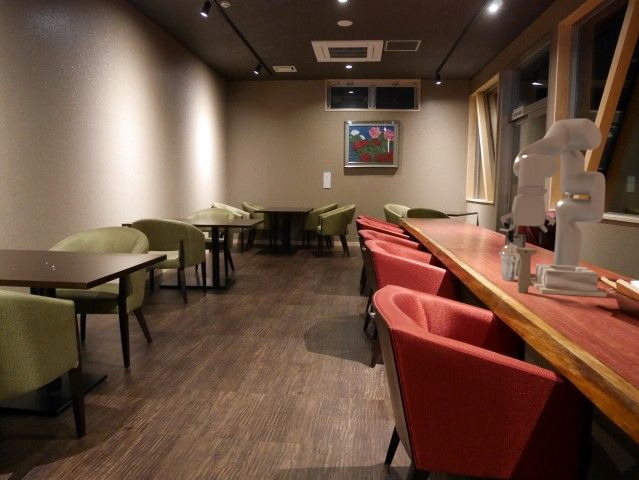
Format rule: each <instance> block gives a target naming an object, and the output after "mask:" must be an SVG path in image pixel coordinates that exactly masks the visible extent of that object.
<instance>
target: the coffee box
mask: <svg viewBox="0 0 639 480" xmlns="http://www.w3.org/2000/svg"><path fill="white" fill-rule="evenodd" d="M526 243H527V235H526V234H520V233H519V234H518V233H514V235H513V242H512V244H513V245H516V246H517V247H518V248H526ZM507 244H510V242H509V240H508V234H507V235H506V234H505V243H504V246H505V245H507ZM519 264H520V259H519V262H518V266H517V271H516V276H518V271H519Z"/></svg>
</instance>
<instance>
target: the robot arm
mask: <svg viewBox="0 0 639 480" xmlns="http://www.w3.org/2000/svg"><path fill="white" fill-rule="evenodd" d="M602 137H603V136H602V133H601V129H600V128H599V127H598V126H597V124H596V123H594V121H592V120H590V119H589V118H586V117H585V118H569V119H560V120H557V121H555V122H554V123H552V125H551V126H550V127H549V129H548V130H547V132H546V134H545V135H544V136H543V138H541V139H539V140H537V141H535V142H533V143H531V144H528V145H527V146H525V147H524V148H522V149H521V150H520V151H519V153H518V154H517V156H516V157H515V159H514V161H513V165H512V171H513V174H514V175H515V176H516V177H518V186H517V195H515V196H514V199H513V201H512V206H511V212H510V213H507V214H504V215H502V216H500V221H501V223H502V226H504V228H505V229H506V230H508V232H507V235H508V240H509V242H510V243H512V242H513V235H514V234H515V233H514V229H515V228H516V227H517V226H520V227H521V226H522V227H523V226H524V227H538V228H539V229H540V232H539V238H538V243H539V244H540V245H544V244H545V242H546V239H547V236H546V235H547V232H548V231H550V230H551V229H552V228H553V226H554V225H555V224H556V225H555V242H554V253H553V265H568V266H580V262H581V261H580V260H581V258H580V257H581V250H582V249H581V246H582V234H583V233H582V231H581V229H580V227H579V226H578V224H577V223H588V224H596V223H600V222H601V221H602V220H603V219H604V218H603V217H604V214H605V199H606V178H605V175H604V173H602V172H599V171H595V170H594V171H588V170H585V163H586V161H585V160H586V157H585V156H584V154H583V153H582V152H581V151H592V150H596V149H597V148H599V147H600V145H601V143H602ZM558 157H559V158H560V159H559V160H560V163H559V161H558V159H556V158H558ZM559 166H560V167H559ZM559 168H560V169H559ZM559 170H560V184H559V187H560V191H561V192H562V194H564V195H567V196H568V195H569V196H588V197H589V198H582V197H581V198H578V197H577V198H576V197H575V198H574V197H572V198H571V197H566V198H561V199H559V200H558V201H557V202H556V203H555V206H554V209H555V211H554V213H555V218H554V217H552V216H550V215H548V214H546V203H545V197H544V196H543V195H544V194H547V193H548V189H547V188H544V187H543V185H544V184H543V183H544V179H549V178H550V179H551V178H553V177H554V176H556V175H557V173H558V171H559ZM507 219H510V224H509V223H508V222H507ZM546 220H548V221H549V223H548V224H547V225H545V223H546Z"/></svg>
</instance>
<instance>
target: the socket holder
mask: <svg viewBox="0 0 639 480" xmlns="http://www.w3.org/2000/svg"><path fill="white" fill-rule="evenodd" d="M535 266H536V267H535V277H534V278H533V277H532V278H530V285H532V286H533V287H534V288H535V289H536V290H537V291H539V292H540V293H541V294H547V295H548V294H550V295H567V296H582V297H600V298H601V297H602V298H607V293H606V292H605V291H603V290H601V289H599V288H598V280H599V273H598V272H595V271H593V270H591V269H589V268H587V267H585V266H584V265H579V266H568V265H554V264H546V263H544V264H543V263H536V264H535Z"/></svg>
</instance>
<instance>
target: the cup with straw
mask: <svg viewBox="0 0 639 480" xmlns="http://www.w3.org/2000/svg"><path fill="white" fill-rule="evenodd" d="M498 230H499V231H503V232H507V233H508V230H507V228H498ZM516 248H518V247H517V246H516V245H513V244H512V243H510V244H507V245H505V244H504V246H502V248H501V250H499V252H498V256H499V255H500V262H501V275H502V280H503V281H507V282H508V281H510V282H511V281H513V282H514V281H515V278H516V276H517V275H516V271H517V266H518V262H519V259H520V254H518V253H517V252H516Z"/></svg>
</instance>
